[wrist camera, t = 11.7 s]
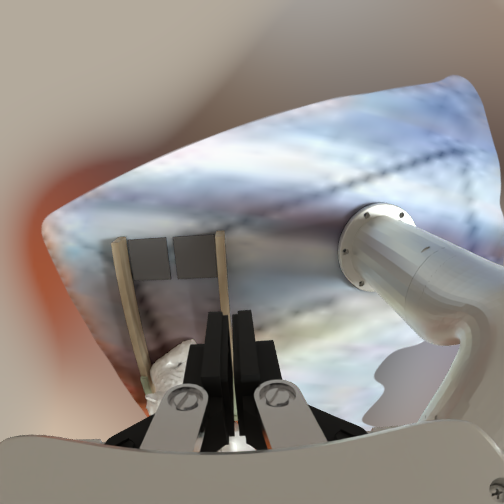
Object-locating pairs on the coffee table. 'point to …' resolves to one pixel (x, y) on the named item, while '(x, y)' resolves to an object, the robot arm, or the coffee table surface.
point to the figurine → (237, 443)
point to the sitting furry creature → (167, 373)
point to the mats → (186, 254)
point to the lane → (133, 313)
